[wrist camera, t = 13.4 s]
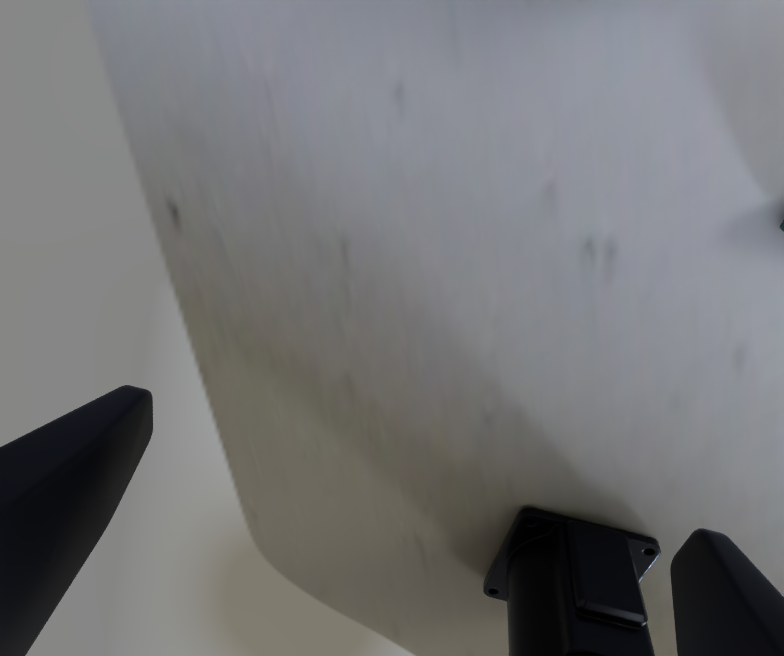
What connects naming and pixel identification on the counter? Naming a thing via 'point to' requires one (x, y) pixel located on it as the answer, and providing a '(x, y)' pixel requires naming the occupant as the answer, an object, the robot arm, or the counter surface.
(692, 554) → the robot arm
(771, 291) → the counter surface
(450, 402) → the counter surface
